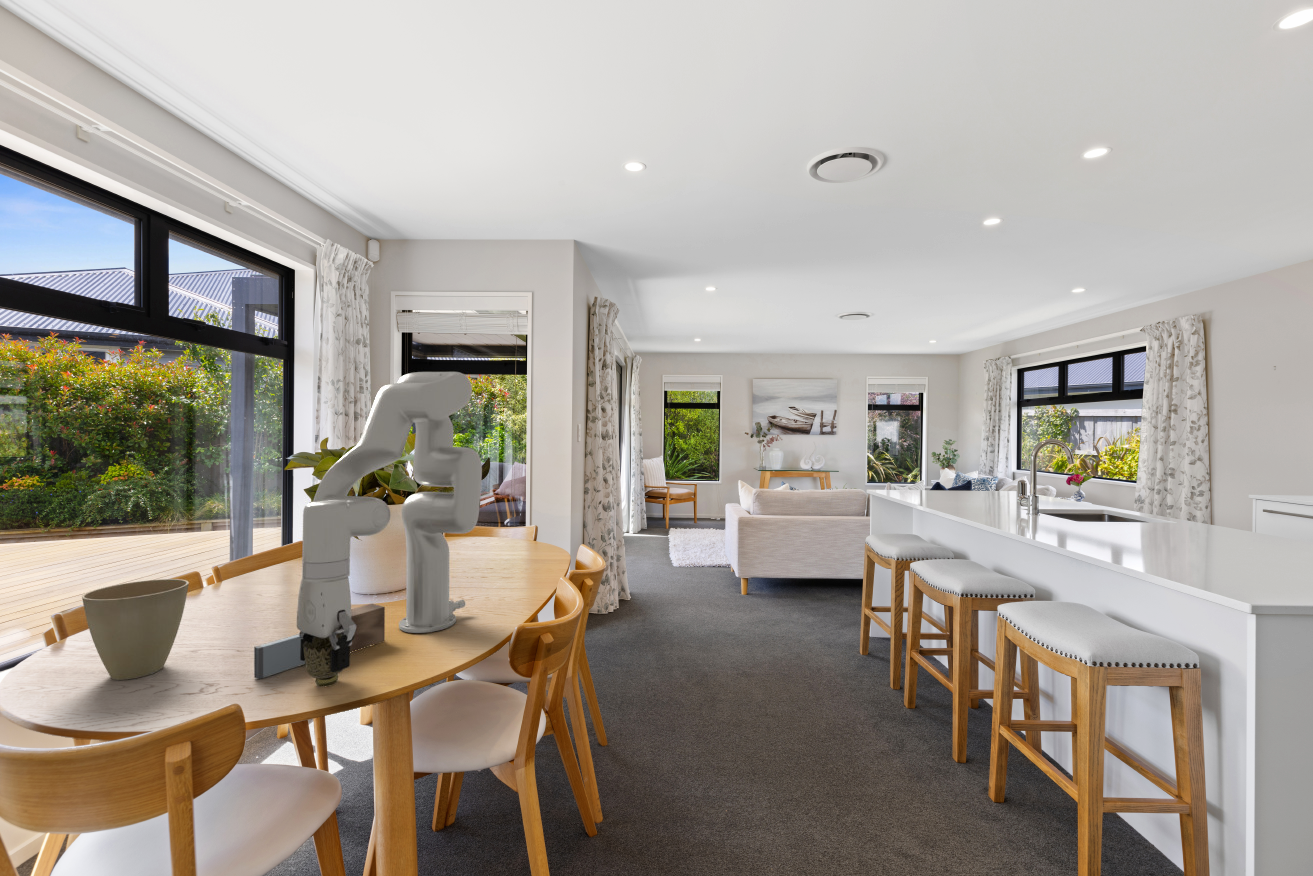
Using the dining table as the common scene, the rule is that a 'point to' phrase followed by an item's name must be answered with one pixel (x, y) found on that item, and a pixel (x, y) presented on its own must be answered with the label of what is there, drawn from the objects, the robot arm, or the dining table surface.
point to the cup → (320, 661)
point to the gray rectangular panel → (277, 656)
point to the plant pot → (135, 624)
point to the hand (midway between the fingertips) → (324, 663)
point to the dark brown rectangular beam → (368, 626)
